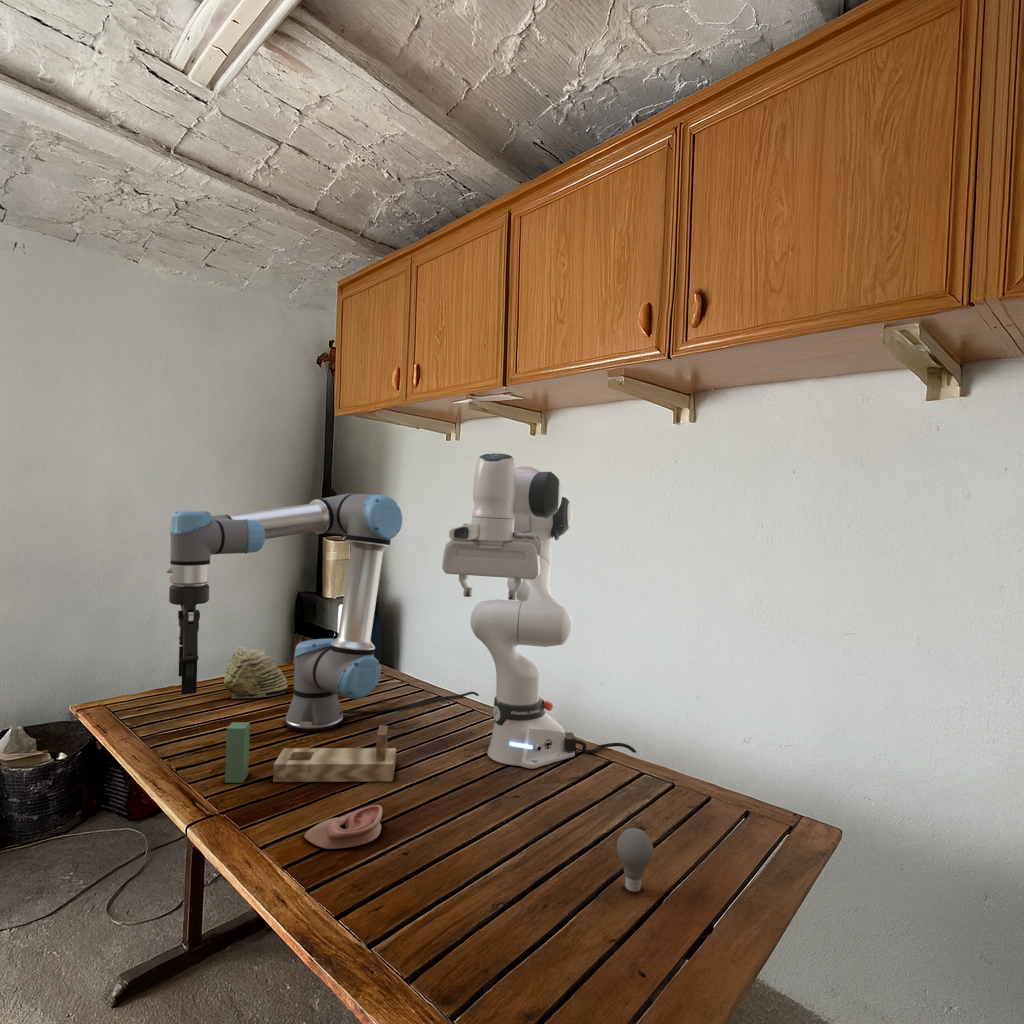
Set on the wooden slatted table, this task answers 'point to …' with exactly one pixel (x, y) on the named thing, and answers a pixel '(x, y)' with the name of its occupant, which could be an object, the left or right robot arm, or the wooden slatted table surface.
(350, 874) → the wooden slatted table surface
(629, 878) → the light bulb
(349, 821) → the anatomical model
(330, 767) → the peg board
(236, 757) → the peg
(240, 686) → the fossil
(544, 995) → the wooden slatted table surface
